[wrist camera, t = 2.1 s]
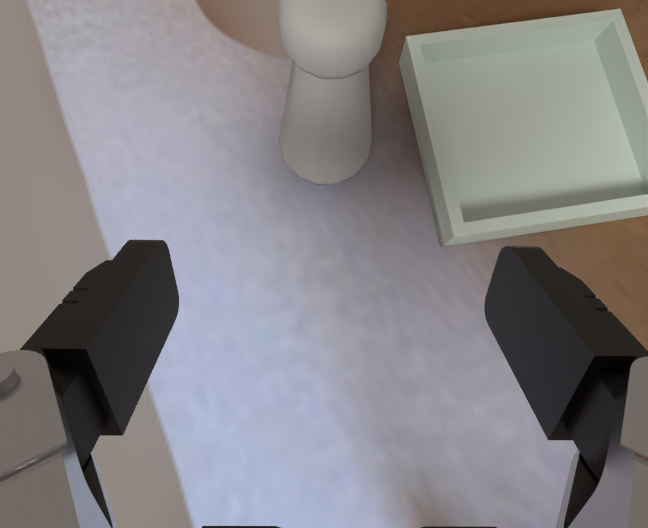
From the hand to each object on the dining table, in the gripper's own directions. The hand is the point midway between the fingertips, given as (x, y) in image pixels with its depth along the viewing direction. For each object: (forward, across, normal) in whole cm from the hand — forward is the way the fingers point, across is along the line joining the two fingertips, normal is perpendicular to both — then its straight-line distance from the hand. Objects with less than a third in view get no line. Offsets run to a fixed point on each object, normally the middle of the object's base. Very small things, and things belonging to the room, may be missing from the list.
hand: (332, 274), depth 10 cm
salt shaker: (+19, 0, +3) cm, 19 cm away
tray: (+20, -14, +2) cm, 25 cm away
